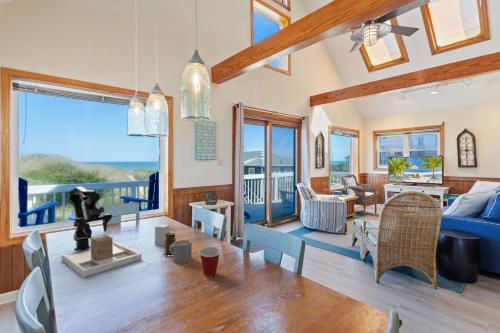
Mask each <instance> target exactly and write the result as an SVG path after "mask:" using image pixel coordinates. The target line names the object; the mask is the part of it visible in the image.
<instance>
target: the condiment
mask: <svg viewBox="0 0 500 333" xmlns="http://www.w3.org/2000/svg"><path fill="white" fill-rule="evenodd" d="M176 241H177V238H176V234H175V233H173V232H170V233H168V234H166V239H165V246H164V249H165V250H164V251H163V255H164V257H165V258H169V257H170V256H171V255H172V254H171V253H170V246H171V245H172V244H174V242H176ZM172 250H173V247H172ZM166 255H167V256H166ZM168 255H170V256H168ZM171 257H172V256H171ZM171 257H170V258H171Z"/></svg>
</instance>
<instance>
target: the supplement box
mask: <svg viewBox="0 0 500 333" xmlns="http://www.w3.org/2000/svg"><path fill="white" fill-rule="evenodd" d="M168 233H171V225H170V224H159V225H157V226H155V227H154V246H156V247H157V246H159V247H165V239H166V234H168Z"/></svg>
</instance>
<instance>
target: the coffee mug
mask: <svg viewBox="0 0 500 333" xmlns="http://www.w3.org/2000/svg"><path fill="white" fill-rule="evenodd" d="M192 244H193V243H192V241H191V240H190V239H179V240H176V242H174V244H172V245H171V246H170V253H171V254H172V255H174V256H173V262H174V263H175V264H180V263H181V264H186V263H185V262H187V263H190V262H191V261H192V255H193V254H192V247H193V246H192ZM172 247H173V250H172ZM190 260H191V261H190ZM189 261H190V262H189Z"/></svg>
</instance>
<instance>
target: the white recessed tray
mask: <svg viewBox="0 0 500 333" xmlns="http://www.w3.org/2000/svg"><path fill="white" fill-rule="evenodd" d="M141 260H142V253H140V252H139V251H137V250H135V249H131V248H130V247H127V246H125V245H124V244H121V243H119V242H116V241H113V257H111V258H108V259H104V260H101V261H96V260H94V259H93V258H91V250H88V251H83V252H79V253H75V254H70V255H67V254H66V253H62V254H61V261H62V262H63V263H64V264H66V265H67V266H68V267H69V268H70V269H72V270H74V271H75V272H76V273H77V274H79V275H80V276H81V277H82V278H88V277H91V276H94V275H98V274H100V273H103V272H107V271H110V270H113V269H116V268H119V267H123V266H125V265H130V264H133V263H135V262H138V261H141Z"/></svg>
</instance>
